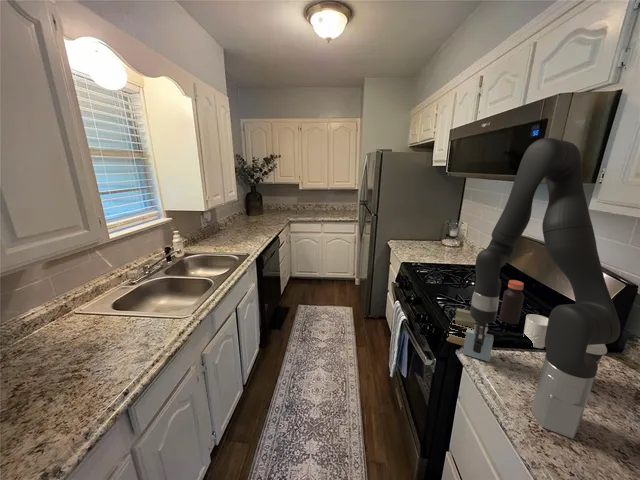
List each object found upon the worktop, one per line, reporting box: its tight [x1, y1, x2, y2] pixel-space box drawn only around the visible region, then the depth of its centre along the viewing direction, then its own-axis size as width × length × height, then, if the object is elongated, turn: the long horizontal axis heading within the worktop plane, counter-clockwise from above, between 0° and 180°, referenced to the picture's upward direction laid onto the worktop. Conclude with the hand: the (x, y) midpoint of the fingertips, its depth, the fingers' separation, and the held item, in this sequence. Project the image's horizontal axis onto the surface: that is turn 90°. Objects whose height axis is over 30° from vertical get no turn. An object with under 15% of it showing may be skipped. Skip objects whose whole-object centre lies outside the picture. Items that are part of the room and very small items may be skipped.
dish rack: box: [446, 307, 475, 347], centre depth 103 cm, size 14×11×9 cm
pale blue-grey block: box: [462, 328, 494, 363], centre depth 91 cm, size 2×8×9 cm, turn 58°
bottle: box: [498, 279, 525, 325], centre depth 108 cm, size 7×7×20 cm
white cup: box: [523, 313, 549, 349], centre depth 98 cm, size 8×8×10 cm
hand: (476, 349), depth 92 cm, fingers closed on pale blue-grey block, 2 cm apart
